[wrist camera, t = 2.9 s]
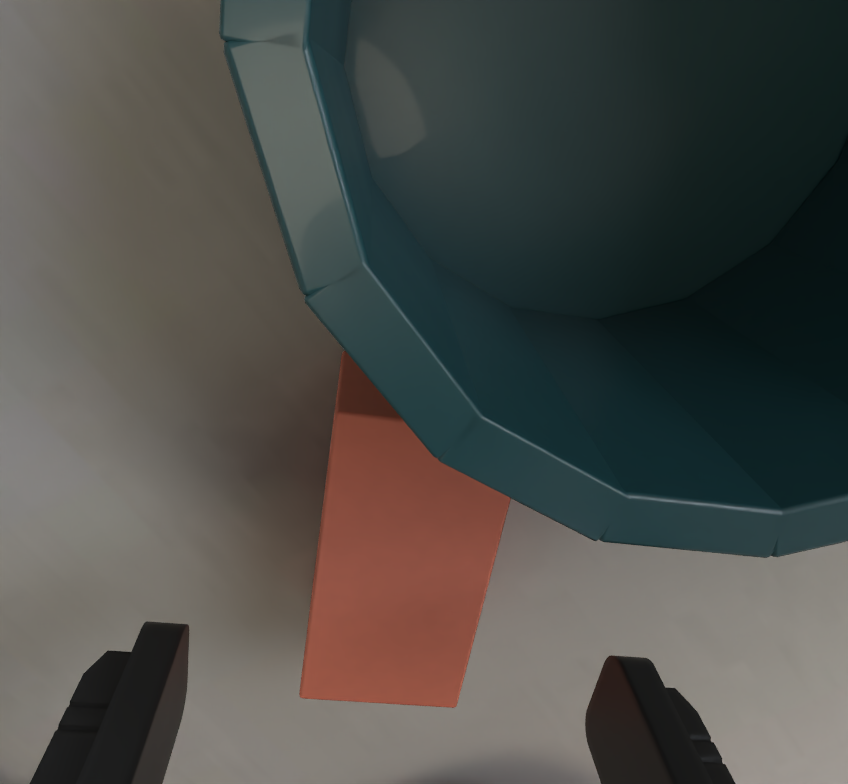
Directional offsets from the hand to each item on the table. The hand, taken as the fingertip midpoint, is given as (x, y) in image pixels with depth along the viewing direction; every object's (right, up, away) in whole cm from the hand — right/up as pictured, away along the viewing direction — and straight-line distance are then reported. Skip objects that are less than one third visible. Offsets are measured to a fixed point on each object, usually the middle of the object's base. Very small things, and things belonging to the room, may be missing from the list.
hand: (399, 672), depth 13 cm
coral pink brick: (0, +3, +6) cm, 6 cm away
